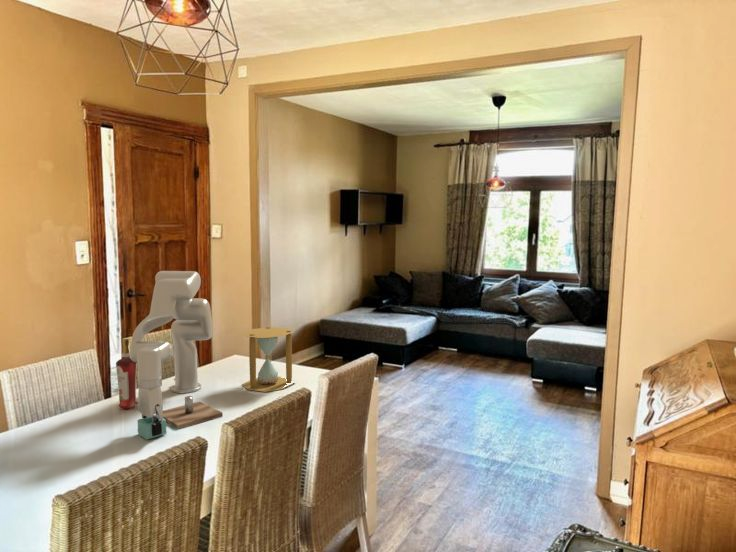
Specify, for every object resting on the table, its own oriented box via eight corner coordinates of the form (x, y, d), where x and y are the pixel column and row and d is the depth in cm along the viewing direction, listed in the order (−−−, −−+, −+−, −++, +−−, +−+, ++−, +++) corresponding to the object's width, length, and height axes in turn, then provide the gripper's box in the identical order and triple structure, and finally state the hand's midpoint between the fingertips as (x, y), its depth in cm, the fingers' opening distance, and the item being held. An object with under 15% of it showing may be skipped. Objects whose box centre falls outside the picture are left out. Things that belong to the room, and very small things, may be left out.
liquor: (113, 409, 210) (110, 340, 208) (129, 403, 217) (126, 336, 214) (126, 412, 207) (123, 342, 204) (141, 406, 213) (139, 338, 211)
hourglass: (272, 374, 260) (271, 324, 257) (304, 383, 245) (303, 330, 243) (232, 385, 241) (231, 331, 239) (264, 396, 227) (263, 338, 225)
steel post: (183, 412, 203) (183, 397, 202) (191, 410, 205) (190, 395, 204) (187, 414, 201) (187, 399, 200) (194, 412, 203) (194, 397, 202)
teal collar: (138, 433, 185) (137, 419, 184) (157, 427, 190) (157, 414, 189) (146, 439, 180) (145, 425, 180) (166, 433, 185) (165, 419, 185)
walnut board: (156, 416, 203) (156, 412, 203) (199, 404, 216) (199, 401, 216) (177, 429, 190) (177, 425, 190) (222, 416, 203) (222, 412, 203)
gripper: (129, 379, 186) (131, 427, 188) (150, 390, 174) (152, 442, 176) (150, 374, 192) (152, 421, 194) (172, 385, 180) (173, 435, 182)
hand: (152, 431), depth 185 cm, fingers closed on teal collar, 7 cm apart
